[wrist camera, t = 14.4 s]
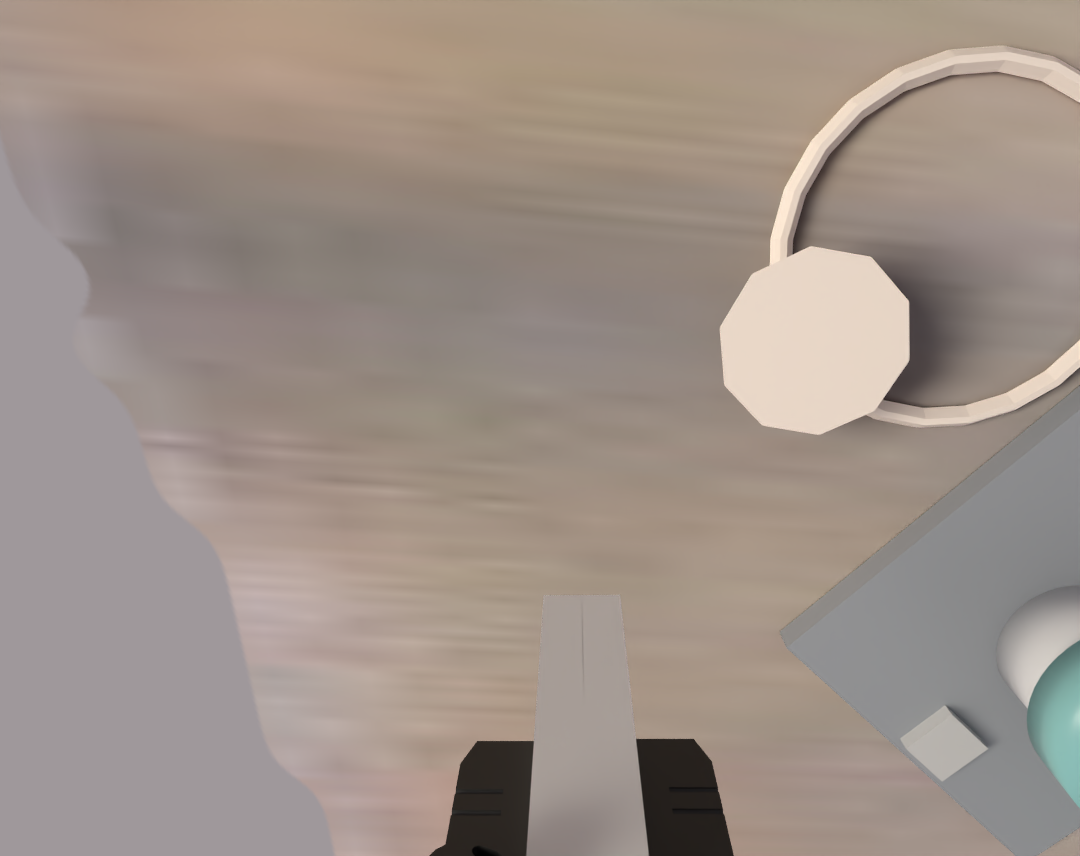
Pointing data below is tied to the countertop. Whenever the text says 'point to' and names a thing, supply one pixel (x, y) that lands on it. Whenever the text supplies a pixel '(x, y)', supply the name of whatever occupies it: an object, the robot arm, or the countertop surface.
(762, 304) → the hand towel holder
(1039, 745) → the domed saucepan
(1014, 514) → the post board
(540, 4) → the countertop surface
